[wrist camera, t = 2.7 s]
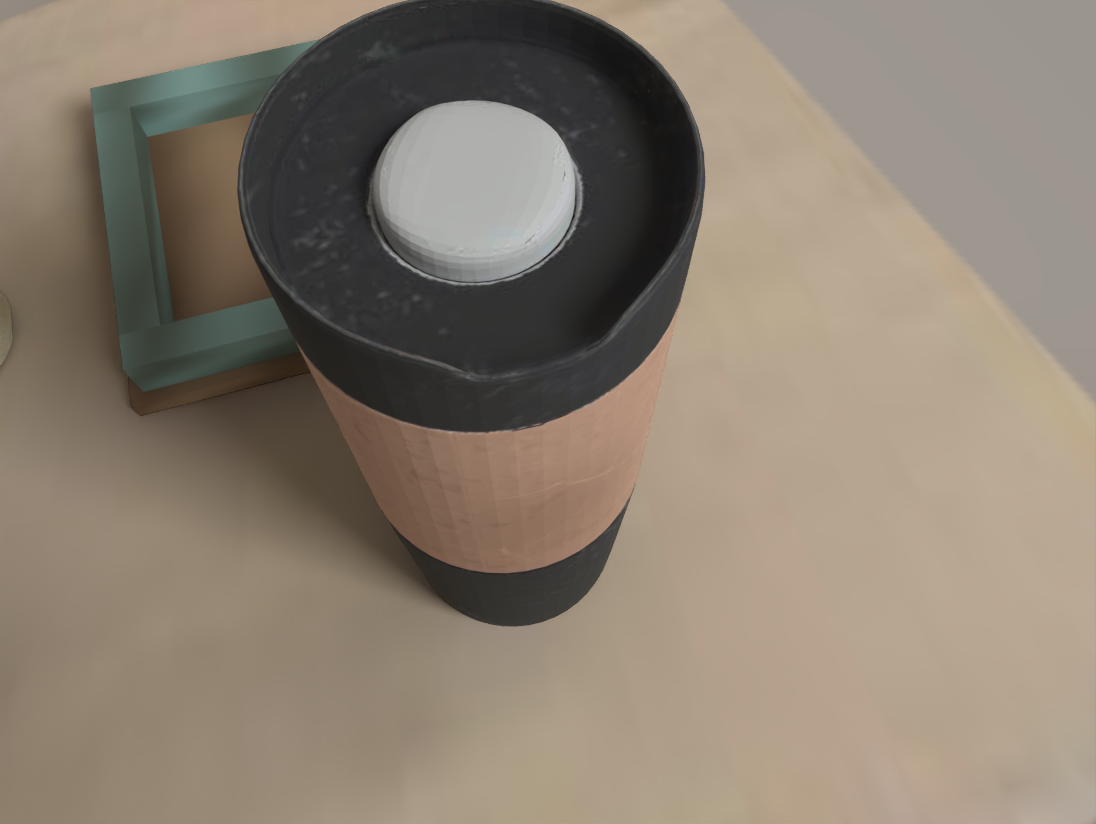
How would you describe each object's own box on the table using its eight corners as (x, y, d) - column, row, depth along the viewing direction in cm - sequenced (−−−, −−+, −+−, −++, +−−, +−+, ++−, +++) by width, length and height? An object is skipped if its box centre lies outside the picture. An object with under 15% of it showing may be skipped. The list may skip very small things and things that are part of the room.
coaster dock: (140, 415, 34) (109, 385, 32) (105, 126, 40) (76, 82, 37) (515, 318, 36) (513, 283, 33) (428, 55, 42) (421, 9, 39)
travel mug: (474, 400, 34) (393, -70, 16) (653, 487, 33) (788, 77, 15) (368, 573, 31) (122, 239, 13) (559, 676, 30) (578, 460, 12)
